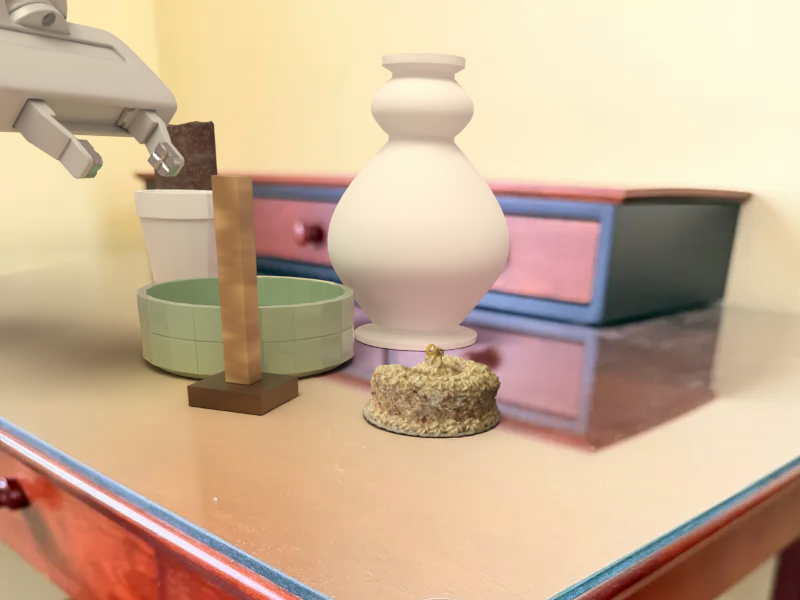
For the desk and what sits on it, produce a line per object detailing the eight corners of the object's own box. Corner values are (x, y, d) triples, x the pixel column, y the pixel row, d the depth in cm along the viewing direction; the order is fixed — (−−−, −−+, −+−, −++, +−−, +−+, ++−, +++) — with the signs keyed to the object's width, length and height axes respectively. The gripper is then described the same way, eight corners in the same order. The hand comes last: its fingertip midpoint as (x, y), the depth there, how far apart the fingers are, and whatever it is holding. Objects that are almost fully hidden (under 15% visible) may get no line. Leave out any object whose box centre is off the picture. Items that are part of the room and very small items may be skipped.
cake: (528, 426, 59) (539, 353, 57) (430, 457, 53) (438, 377, 50) (431, 387, 65) (437, 319, 63) (333, 411, 59) (336, 337, 56)
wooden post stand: (188, 405, 60) (167, 174, 53) (230, 386, 65) (216, 173, 59) (261, 415, 58) (248, 177, 52) (298, 395, 63) (292, 176, 57)
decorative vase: (322, 354, 76) (316, 42, 66) (334, 320, 92) (331, 64, 82) (513, 359, 77) (538, 49, 66) (491, 323, 93) (509, 70, 82)
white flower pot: (191, 307, 97) (181, 188, 92) (251, 316, 93) (244, 192, 88) (129, 319, 90) (114, 190, 84) (191, 329, 86) (180, 194, 80)
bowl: (115, 381, 66) (105, 304, 63) (175, 335, 83) (169, 273, 80) (346, 387, 66) (345, 310, 63) (359, 339, 83) (359, 278, 80)
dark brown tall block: (213, 308, 98) (199, 119, 89) (155, 304, 99) (136, 118, 90) (235, 298, 104) (224, 122, 96) (181, 295, 105) (165, 120, 97)
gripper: (79, 64, 67) (194, 198, 68) (-152, 30, 49) (9, 211, 50) (117, -3, 63) (237, 139, 65) (-115, -65, 46) (56, 130, 47)
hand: (136, 171), depth 57 cm, fingers open, 8 cm apart
